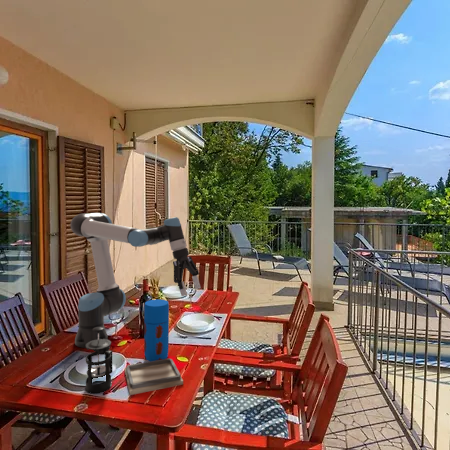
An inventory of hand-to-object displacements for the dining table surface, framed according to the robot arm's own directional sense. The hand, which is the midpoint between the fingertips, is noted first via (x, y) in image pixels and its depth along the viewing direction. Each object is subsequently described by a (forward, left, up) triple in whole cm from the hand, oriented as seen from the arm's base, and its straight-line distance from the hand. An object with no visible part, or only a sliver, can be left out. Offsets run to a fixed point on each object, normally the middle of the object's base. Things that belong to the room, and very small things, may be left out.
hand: (191, 292), depth 159 cm
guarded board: (+20, -22, -28) cm, 41 cm away
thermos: (+2, -17, -28) cm, 33 cm away
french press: (+19, -42, -28) cm, 54 cm away
